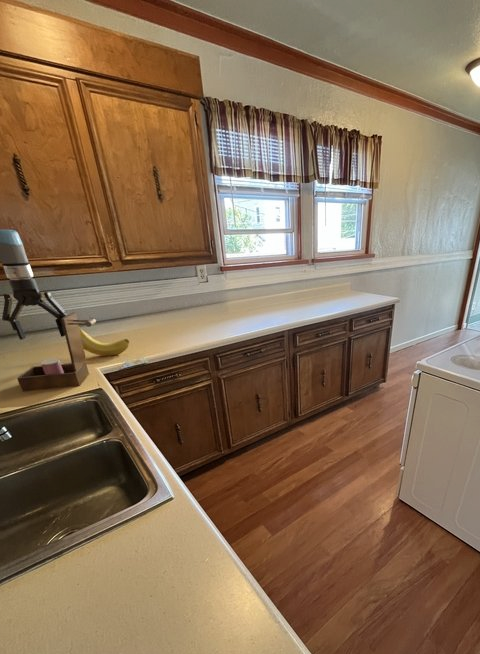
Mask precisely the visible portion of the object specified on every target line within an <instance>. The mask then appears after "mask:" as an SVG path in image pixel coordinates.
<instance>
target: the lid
mask: <svg viewBox="0 0 480 654" xmlns="http://www.w3.org/2000/svg"><path fill="white" fill-rule="evenodd" d="M61 320H62V324H63V328H64V332H65V336H64V337H65V341H66V344H67V349H68V353H69V357H70V361H71V363H72V366H73V370H74V372H76V371H77V370H78V369H79V368H80V367H81V366H82V365H83V364H84V363H85V362H87V358H86V353H85V349H84V348H83V344H82V339H81V334H80V330H79V327H80V326H86V327H88V328H90V327H92V326H93V325H95V324H96V322H97V320H96V319H95V318H90V319H78V316H77V312H76V311H72V312H71V313H70V314H68V315H67V316H65V317H63V319H61Z"/></svg>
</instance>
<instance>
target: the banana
mask: <svg viewBox="0 0 480 654" xmlns="http://www.w3.org/2000/svg"><path fill="white" fill-rule="evenodd" d="M79 330H80V334H81V339H82V344H83V348H84V351H87V352H89V353H91V354H93V355H96V356H100V357H101V356H103V357H105V356H106V357H109V356H116V355H119V354H122V353H123V352H126V350H127V349H128V348H129V346H130V340H129V339H128V338H124V339H120V340H118V341H115V342H100V341H98V340H96V339H94V338H93V337H91V336H90V335H89V334H88V333H86V332H85V331H84V330H83V329H82V328H81V327H80V326H79Z"/></svg>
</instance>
